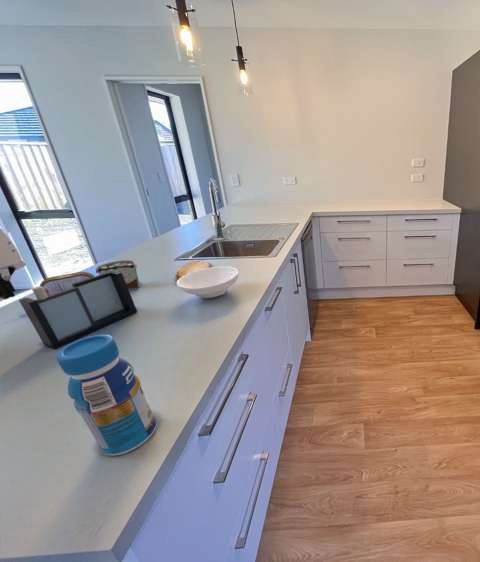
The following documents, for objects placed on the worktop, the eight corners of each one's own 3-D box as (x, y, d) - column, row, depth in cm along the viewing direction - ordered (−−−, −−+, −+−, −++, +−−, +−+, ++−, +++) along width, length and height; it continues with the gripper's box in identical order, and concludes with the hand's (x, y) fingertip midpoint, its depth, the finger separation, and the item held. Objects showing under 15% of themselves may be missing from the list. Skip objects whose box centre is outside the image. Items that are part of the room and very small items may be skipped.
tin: (101, 289, 114) (92, 268, 111) (101, 291, 112) (92, 271, 108) (46, 301, 105) (34, 279, 102) (45, 304, 103) (33, 282, 100)
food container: (148, 281, 120) (140, 257, 116) (144, 287, 115) (135, 263, 110) (111, 286, 116) (101, 262, 112) (104, 293, 111) (93, 268, 106)
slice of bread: (198, 263, 138) (196, 255, 136) (226, 269, 131) (224, 260, 129) (159, 277, 123) (156, 269, 122) (187, 284, 116) (184, 275, 114)
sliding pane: (58, 340, 80) (31, 290, 74) (55, 338, 81) (27, 289, 75) (96, 324, 87) (74, 277, 81) (92, 322, 88) (70, 276, 82)
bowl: (168, 303, 102) (162, 284, 99) (212, 280, 119) (208, 264, 116) (214, 310, 97) (209, 291, 94) (253, 285, 114) (250, 269, 111)
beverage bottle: (87, 454, 51) (30, 361, 43) (131, 414, 59) (89, 328, 51) (130, 461, 50) (79, 366, 42) (169, 419, 58) (133, 332, 49)
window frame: (54, 349, 79) (28, 303, 73) (44, 345, 81) (18, 299, 75) (137, 312, 97) (121, 272, 91) (127, 309, 99) (111, 270, 93)
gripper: (3, 212, 71) (40, 282, 78) (-106, 227, 58) (-49, 309, 66) (19, 213, 68) (56, 286, 76) (-92, 229, 56) (-34, 314, 63)
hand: (7, 296), depth 71 cm, fingers closed
